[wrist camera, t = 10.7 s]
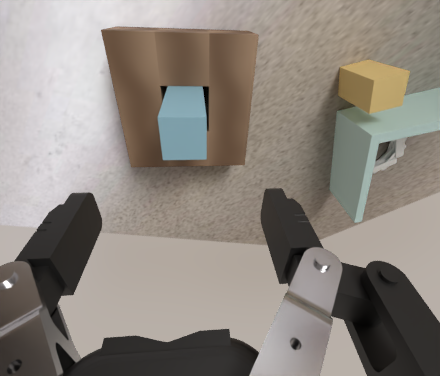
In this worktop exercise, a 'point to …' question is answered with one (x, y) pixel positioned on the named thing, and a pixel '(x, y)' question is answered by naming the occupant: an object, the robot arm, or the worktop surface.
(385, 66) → the short peg
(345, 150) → the l-shaped corner panel
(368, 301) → the robot arm
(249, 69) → the hole block
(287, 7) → the worktop surface
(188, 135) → the long peg
